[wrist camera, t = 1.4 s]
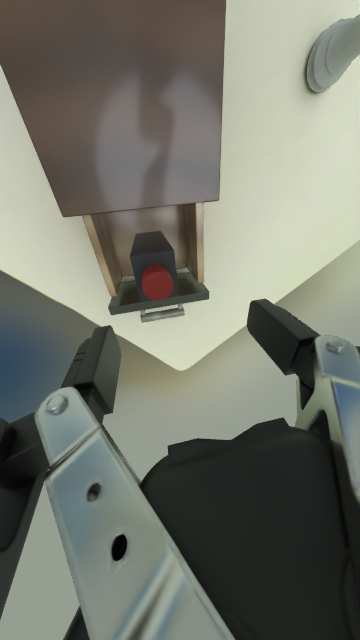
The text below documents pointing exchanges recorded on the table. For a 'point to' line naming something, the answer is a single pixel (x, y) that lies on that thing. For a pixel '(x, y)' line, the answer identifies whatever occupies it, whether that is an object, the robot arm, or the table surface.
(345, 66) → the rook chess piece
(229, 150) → the table surface
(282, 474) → the robot arm
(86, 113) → the cabinet
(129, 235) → the drawer
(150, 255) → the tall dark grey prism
